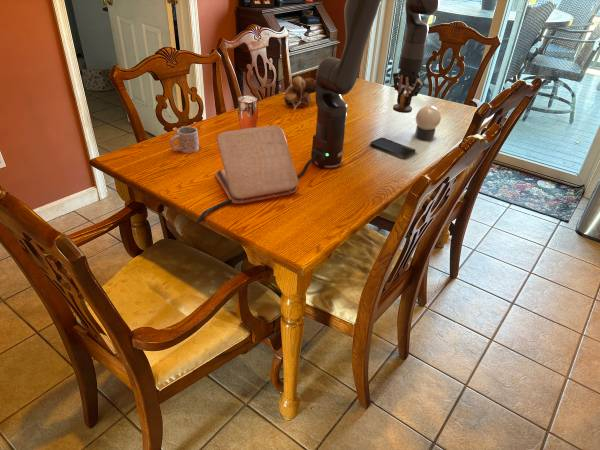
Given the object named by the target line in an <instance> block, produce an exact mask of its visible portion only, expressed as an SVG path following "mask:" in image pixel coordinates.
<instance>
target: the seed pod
mask: <svg viewBox="0 0 600 450" xmlns="http://www.w3.org/2000/svg"><path fill="white" fill-rule="evenodd" d="M315 93H316V79H314V78H312V77H308V78H303V77H302V76H299V75H297V76H294V77H293V78H292V82H291V85H289V86H288V87H287V88H286V89H285V91H284V97H283V101H284V103H285V105H286V106H288V107H293V111H296V109H297V107H298V106H301V107H302V108H304V107H308V106H310V104H311V102H312V101H311V100H312V97H311V94H315Z"/></svg>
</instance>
